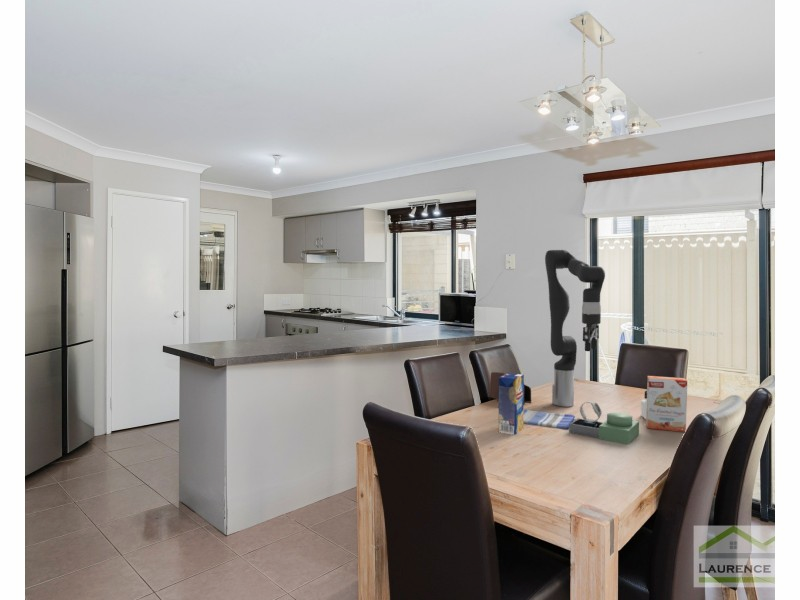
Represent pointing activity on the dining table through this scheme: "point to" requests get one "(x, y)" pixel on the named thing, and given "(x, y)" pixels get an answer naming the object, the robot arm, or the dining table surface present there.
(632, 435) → the green block with dome
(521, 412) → the beverage box
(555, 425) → the dish towel
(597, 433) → the frame
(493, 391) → the letter holder
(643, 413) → the medicine bottle
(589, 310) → the robot arm
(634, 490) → the dining table surface
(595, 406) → the watch
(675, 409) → the cracker box
